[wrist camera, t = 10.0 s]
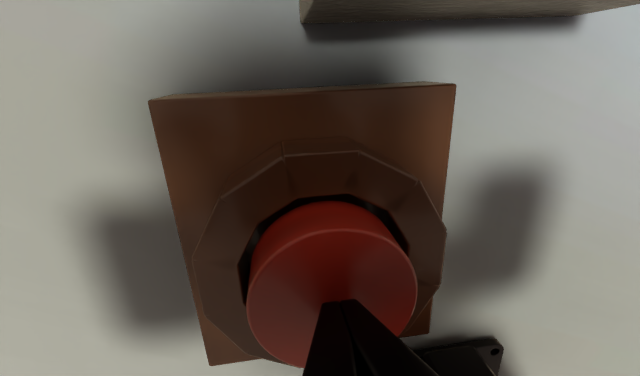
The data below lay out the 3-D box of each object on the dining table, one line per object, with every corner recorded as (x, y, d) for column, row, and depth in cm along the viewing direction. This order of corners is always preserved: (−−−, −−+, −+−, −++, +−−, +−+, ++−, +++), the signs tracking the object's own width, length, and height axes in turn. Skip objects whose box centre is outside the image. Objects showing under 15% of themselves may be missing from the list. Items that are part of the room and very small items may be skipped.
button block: (408, 298, 15) (452, 373, 11) (218, 324, 14) (198, 415, 10) (425, 81, 11) (497, 86, 8) (171, 94, 10) (115, 107, 7)
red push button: (391, 313, 10) (413, 357, 9) (259, 332, 10) (256, 382, 8) (397, 192, 9) (425, 220, 7) (241, 207, 8) (233, 240, 7)
